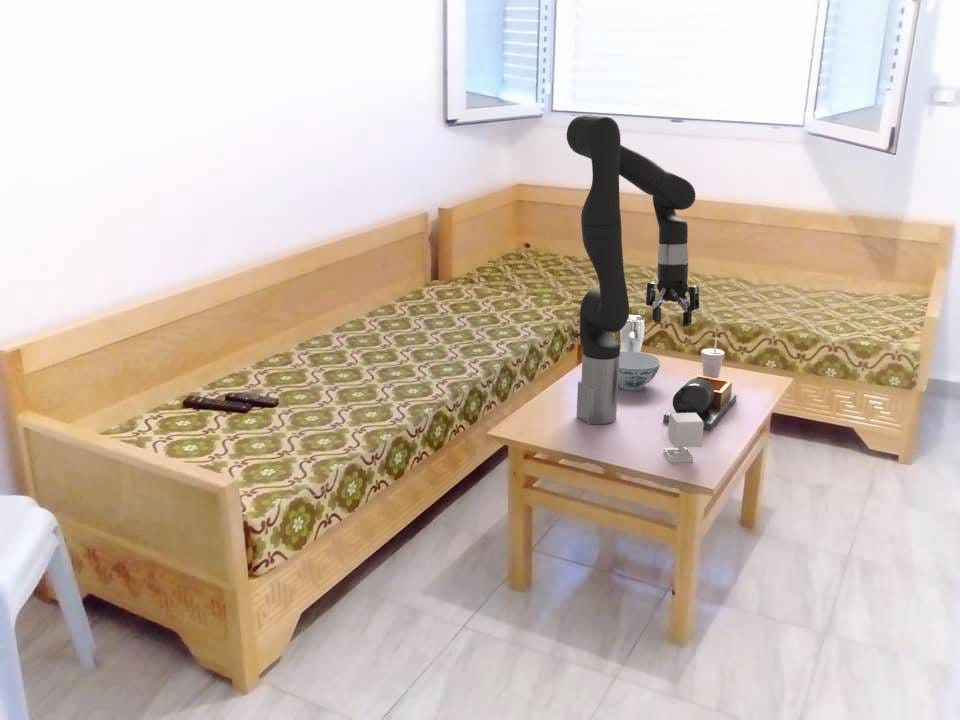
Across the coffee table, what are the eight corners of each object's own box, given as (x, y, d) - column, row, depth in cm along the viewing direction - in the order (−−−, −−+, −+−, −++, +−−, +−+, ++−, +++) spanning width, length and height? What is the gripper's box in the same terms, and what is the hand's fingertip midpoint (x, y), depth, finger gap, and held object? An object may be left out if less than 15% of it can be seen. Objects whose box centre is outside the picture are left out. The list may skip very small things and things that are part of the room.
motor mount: (710, 431, 222) (713, 393, 219) (663, 421, 228) (666, 384, 224) (735, 400, 242) (739, 365, 239) (692, 392, 247) (695, 358, 244)
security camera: (700, 462, 205) (704, 422, 202) (670, 463, 205) (673, 423, 201) (692, 451, 211) (695, 411, 208) (662, 451, 211) (665, 412, 207)
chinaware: (598, 391, 248) (599, 364, 246) (612, 374, 261) (613, 348, 259) (652, 398, 243) (653, 371, 240) (663, 381, 256) (665, 355, 253)
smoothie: (716, 390, 249) (720, 341, 245) (694, 385, 253) (698, 337, 248) (725, 383, 254) (730, 336, 250) (704, 378, 258) (708, 332, 253)
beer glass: (636, 371, 263) (639, 322, 258) (614, 367, 267) (617, 318, 262) (645, 365, 269) (648, 317, 264) (623, 361, 272) (626, 313, 267)
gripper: (640, 261, 229) (640, 323, 233) (689, 264, 220) (688, 330, 223) (657, 258, 235) (656, 319, 238) (705, 261, 225) (704, 325, 229)
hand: (671, 324), depth 231 cm, fingers open, 8 cm apart
